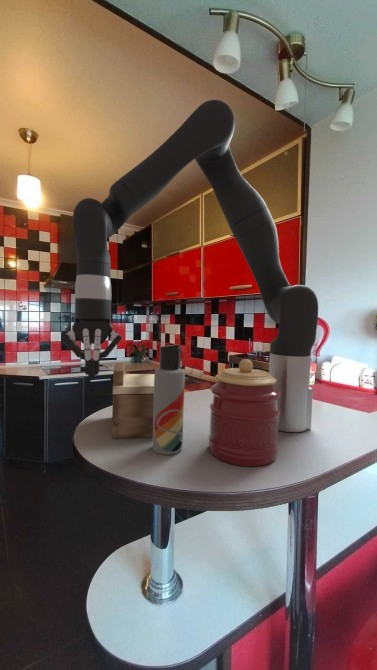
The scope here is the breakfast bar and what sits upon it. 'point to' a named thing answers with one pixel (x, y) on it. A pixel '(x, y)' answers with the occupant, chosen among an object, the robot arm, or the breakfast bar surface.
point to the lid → (131, 382)
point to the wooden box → (132, 416)
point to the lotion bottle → (168, 402)
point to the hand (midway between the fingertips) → (92, 376)
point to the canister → (244, 416)
